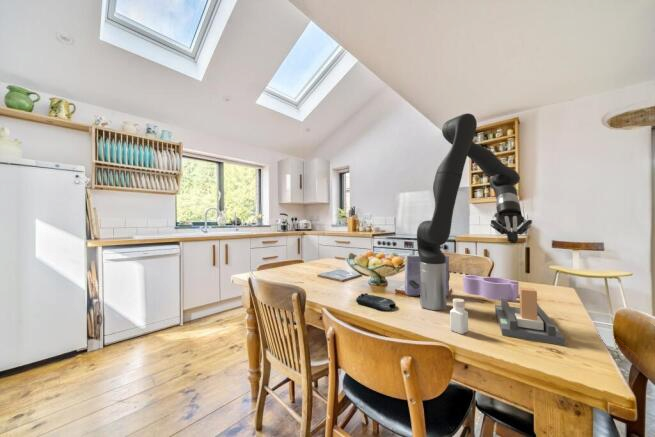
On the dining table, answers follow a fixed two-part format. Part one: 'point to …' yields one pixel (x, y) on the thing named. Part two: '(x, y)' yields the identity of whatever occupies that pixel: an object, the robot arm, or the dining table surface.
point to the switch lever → (528, 310)
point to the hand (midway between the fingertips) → (513, 241)
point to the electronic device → (375, 302)
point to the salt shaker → (458, 317)
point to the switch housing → (510, 328)
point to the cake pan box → (418, 275)
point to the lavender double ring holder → (491, 287)
